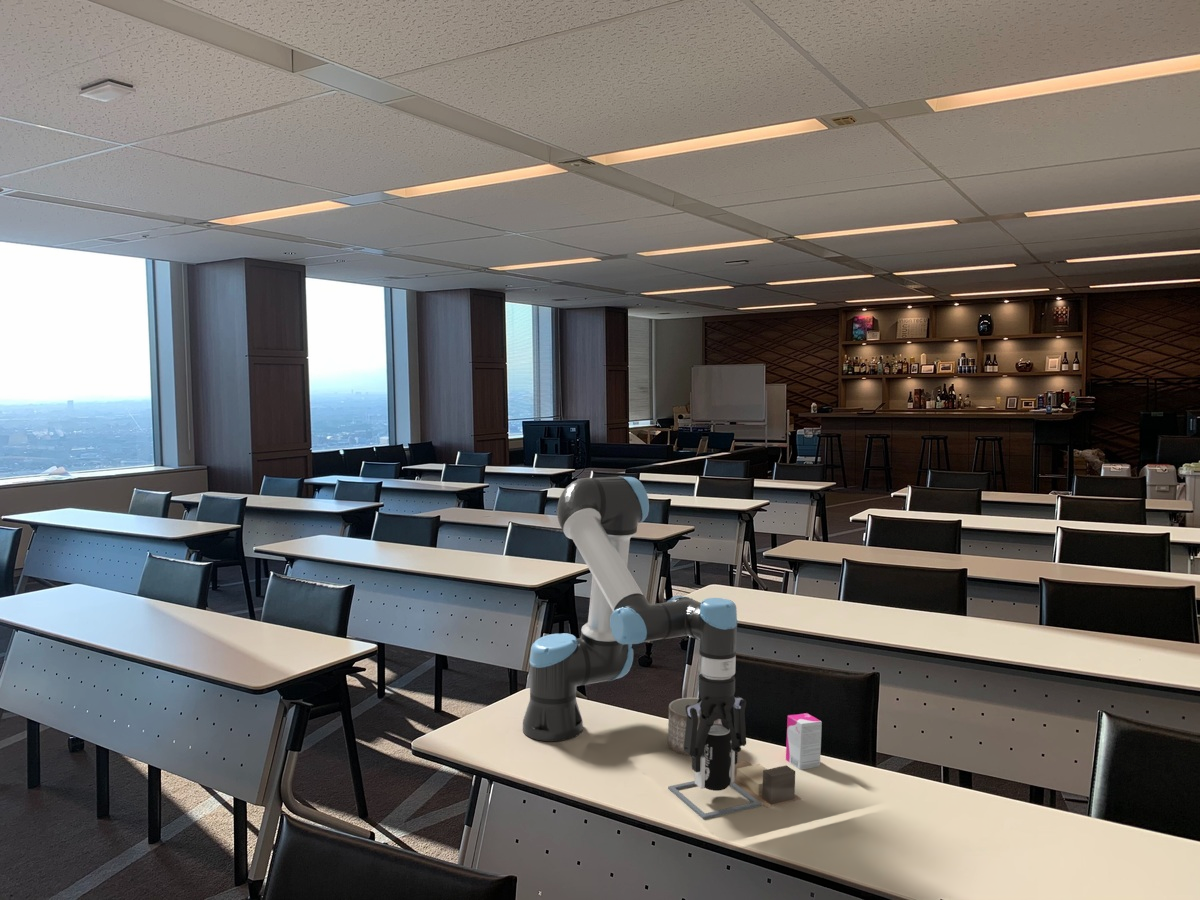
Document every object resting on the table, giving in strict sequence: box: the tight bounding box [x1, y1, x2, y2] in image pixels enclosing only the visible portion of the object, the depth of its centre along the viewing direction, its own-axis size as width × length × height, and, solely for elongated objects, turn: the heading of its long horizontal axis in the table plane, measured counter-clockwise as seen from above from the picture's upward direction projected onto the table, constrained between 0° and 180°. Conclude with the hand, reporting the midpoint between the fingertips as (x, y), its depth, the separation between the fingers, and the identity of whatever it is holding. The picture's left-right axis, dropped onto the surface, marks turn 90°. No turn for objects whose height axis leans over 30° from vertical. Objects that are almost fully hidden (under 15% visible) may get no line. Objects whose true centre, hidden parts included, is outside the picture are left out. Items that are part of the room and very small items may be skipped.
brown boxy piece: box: [734, 760, 802, 808], centre depth 182 cm, size 20×9×7 cm, turn 25°
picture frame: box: [667, 780, 762, 820], centre depth 175 cm, size 14×14×2 cm
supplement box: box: [785, 712, 823, 770], centre depth 192 cm, size 6×6×12 cm
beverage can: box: [702, 723, 732, 792], centre depth 174 cm, size 7×7×12 cm
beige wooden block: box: [737, 763, 768, 796], centre depth 181 cm, size 8×6×2 cm
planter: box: [667, 697, 722, 757], centre depth 201 cm, size 13×13×10 cm
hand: (714, 782), depth 175 cm, fingers closed on beverage can, 7 cm apart
